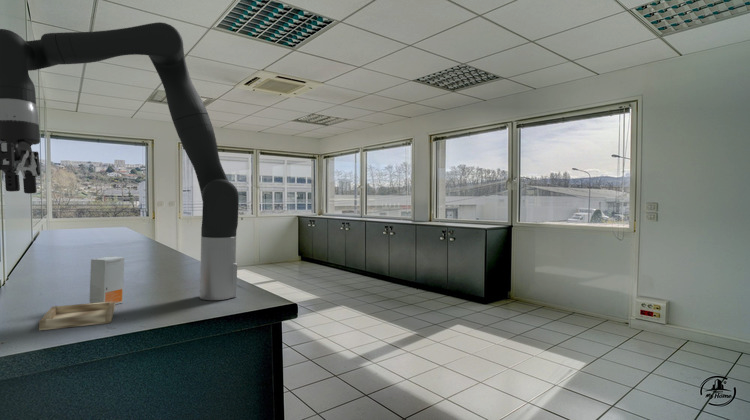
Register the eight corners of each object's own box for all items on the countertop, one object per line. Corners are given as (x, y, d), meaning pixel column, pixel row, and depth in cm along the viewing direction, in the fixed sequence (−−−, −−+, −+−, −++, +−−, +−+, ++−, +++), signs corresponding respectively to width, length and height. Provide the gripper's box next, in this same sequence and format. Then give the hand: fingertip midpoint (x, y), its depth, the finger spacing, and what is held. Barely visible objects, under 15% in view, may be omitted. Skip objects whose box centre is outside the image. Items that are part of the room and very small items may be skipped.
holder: (114, 309, 94) (115, 301, 94) (110, 322, 84) (110, 314, 84) (51, 314, 88) (52, 306, 88) (39, 330, 78) (39, 321, 78)
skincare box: (103, 308, 94) (104, 260, 94) (88, 307, 95) (89, 259, 95) (124, 302, 100) (125, 256, 100) (110, 301, 101) (111, 256, 101)
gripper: (23, 115, 83) (28, 190, 84) (50, 129, 97) (54, 193, 97) (-22, 114, 81) (-17, 191, 81) (11, 128, 94) (16, 194, 94)
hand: (22, 192), depth 89 cm, fingers open, 8 cm apart
